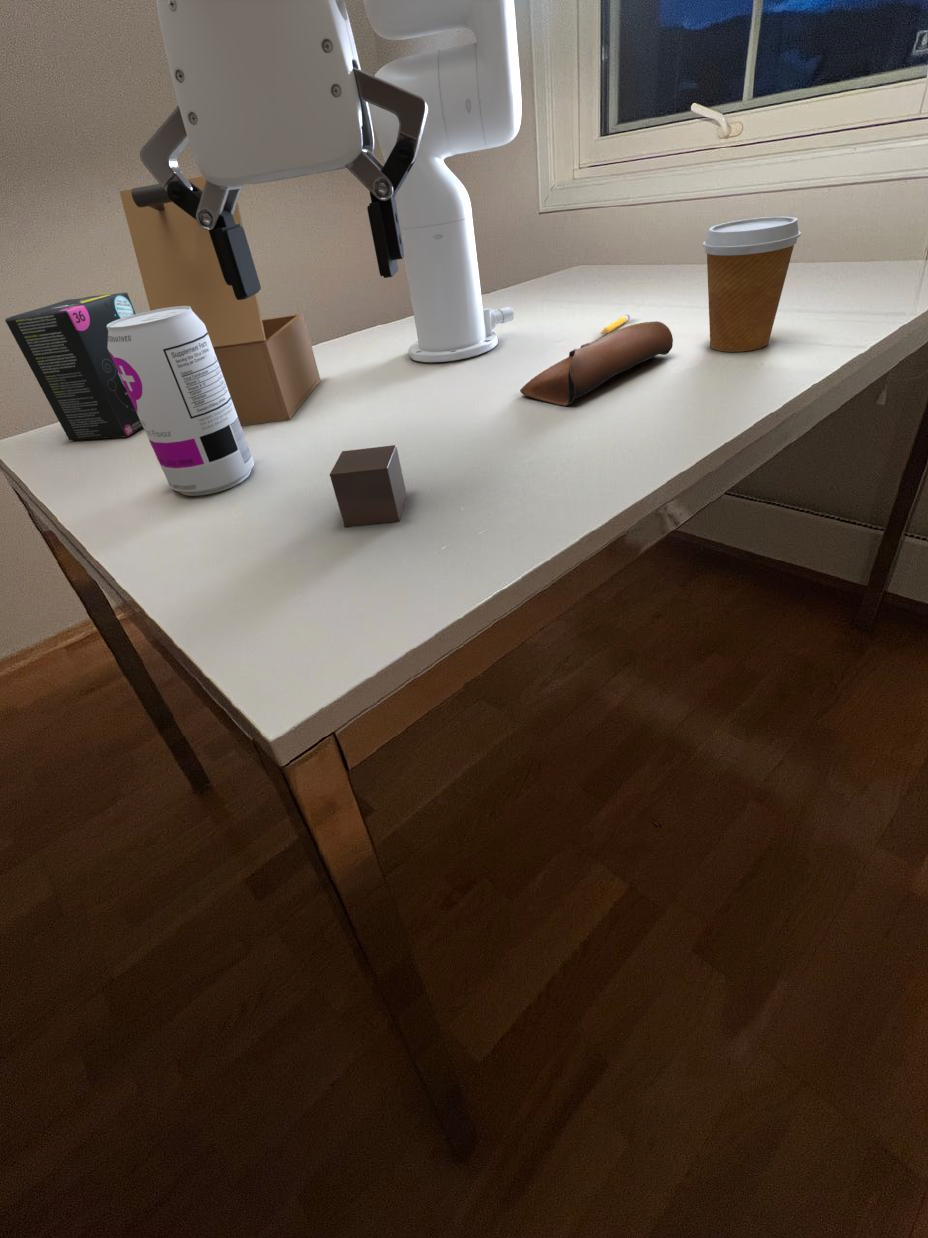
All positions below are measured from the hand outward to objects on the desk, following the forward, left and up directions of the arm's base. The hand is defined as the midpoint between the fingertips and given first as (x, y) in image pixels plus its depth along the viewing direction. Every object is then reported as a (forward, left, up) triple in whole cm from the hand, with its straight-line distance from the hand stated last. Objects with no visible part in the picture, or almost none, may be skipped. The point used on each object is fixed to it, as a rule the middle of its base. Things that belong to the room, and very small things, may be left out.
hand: (318, 285), depth 41 cm
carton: (-2, -40, -17) cm, 44 cm away
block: (0, 0, -17) cm, 17 cm away
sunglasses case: (-33, -11, -17) cm, 39 cm away
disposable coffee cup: (-50, -6, -17) cm, 53 cm away
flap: (+1, -36, 0) cm, 36 cm away
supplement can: (+9, -19, -17) cm, 27 cm away
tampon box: (+14, -50, -17) cm, 55 cm away
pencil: (-48, -25, -17) cm, 57 cm away
